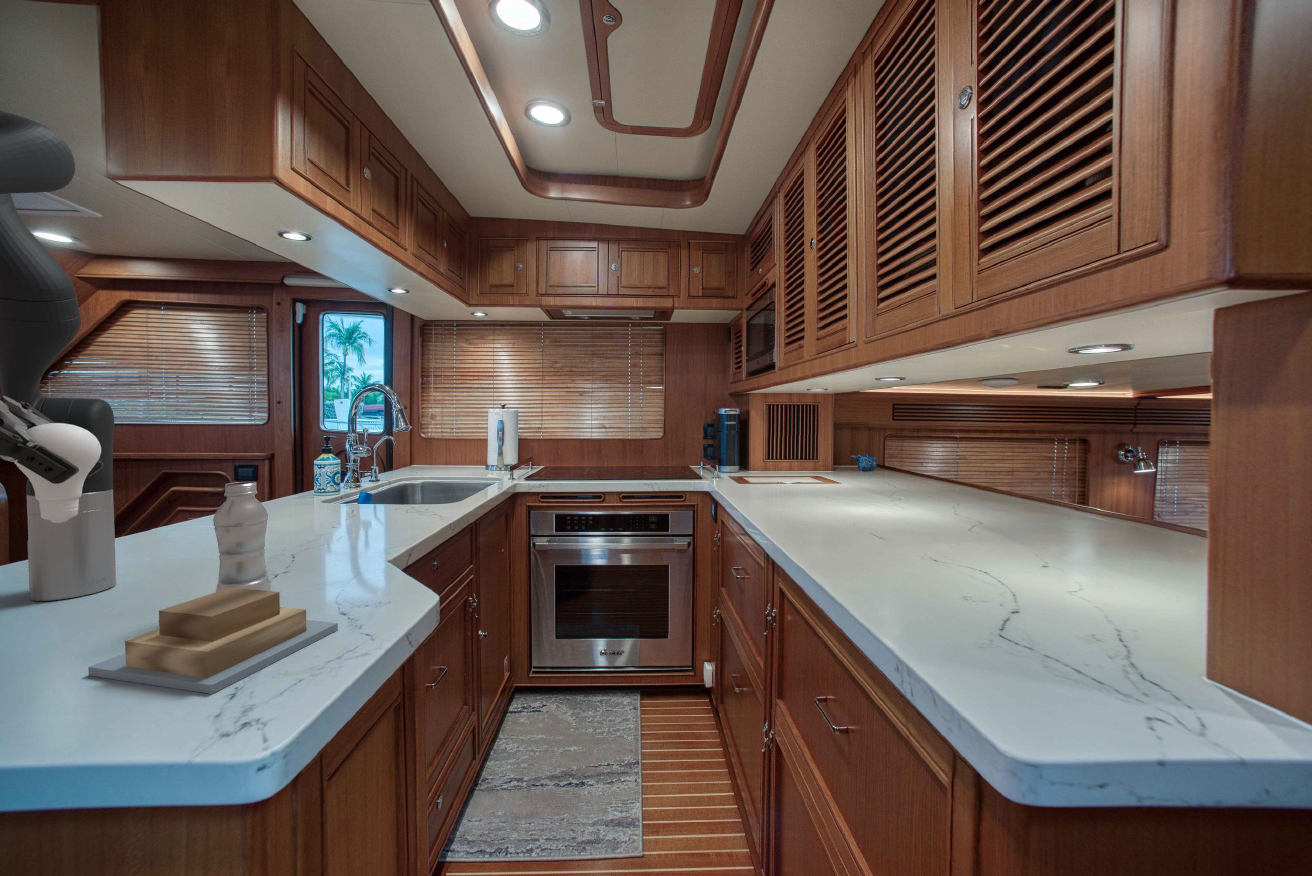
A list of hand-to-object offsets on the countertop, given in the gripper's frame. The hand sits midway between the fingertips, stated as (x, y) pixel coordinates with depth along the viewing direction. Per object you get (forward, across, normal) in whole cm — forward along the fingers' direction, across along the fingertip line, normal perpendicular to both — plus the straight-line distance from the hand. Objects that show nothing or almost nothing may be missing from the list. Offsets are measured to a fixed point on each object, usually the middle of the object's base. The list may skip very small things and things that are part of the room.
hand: (82, 474), depth 52 cm
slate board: (+25, +1, +9) cm, 26 cm away
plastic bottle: (+25, +17, +9) cm, 32 cm away
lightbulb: (+3, 0, +5) cm, 6 cm away
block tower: (+25, 0, +9) cm, 26 cm away
